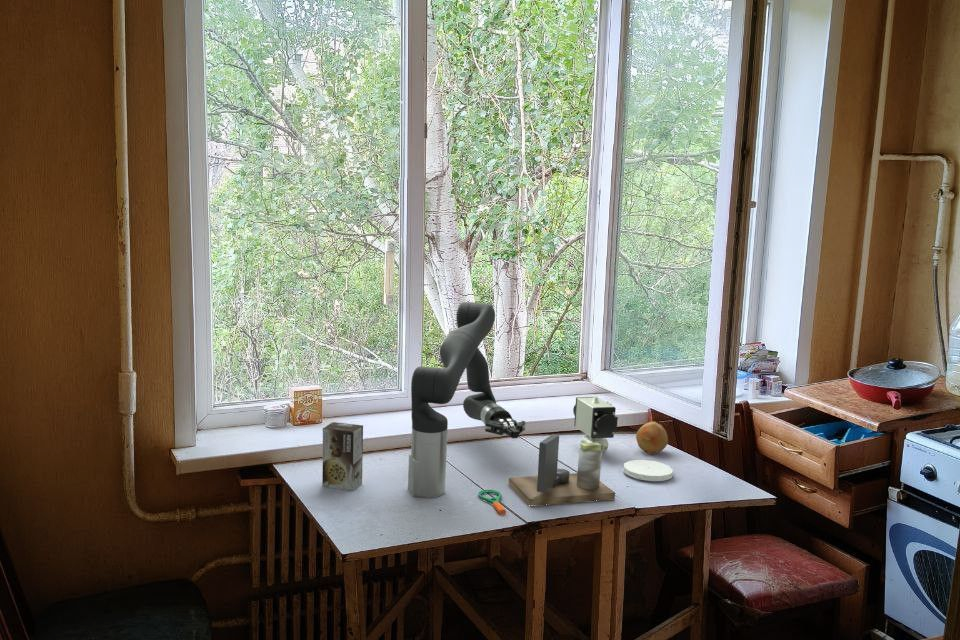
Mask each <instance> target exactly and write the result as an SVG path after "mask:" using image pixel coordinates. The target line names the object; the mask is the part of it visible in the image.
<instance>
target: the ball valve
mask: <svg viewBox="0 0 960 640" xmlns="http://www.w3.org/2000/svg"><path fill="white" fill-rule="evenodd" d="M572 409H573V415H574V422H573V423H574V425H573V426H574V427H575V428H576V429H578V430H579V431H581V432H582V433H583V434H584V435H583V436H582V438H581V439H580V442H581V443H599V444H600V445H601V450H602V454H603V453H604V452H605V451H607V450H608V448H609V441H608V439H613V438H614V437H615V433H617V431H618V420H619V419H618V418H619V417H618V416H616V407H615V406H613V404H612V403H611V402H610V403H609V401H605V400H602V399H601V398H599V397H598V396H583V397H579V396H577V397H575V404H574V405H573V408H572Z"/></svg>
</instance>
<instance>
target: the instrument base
mask: <svg viewBox="0 0 960 640" xmlns="http://www.w3.org/2000/svg"><path fill="white" fill-rule="evenodd" d="M602 454H603V453H602V450H601V445H600V444H599V443H582V442H581V443H580V447H579V448H578V461H577V473H576V472H575V473H574V472H573V473H570V476H569V482H568V483H563V484H561V483H558V484H557V485H555V486H552V487H550V488H549V489H548V490H546V491H545V492H544V493H541V492H537V479H538V475H533V476H532V475H531V476H530V475H529V476H527V475H526V476H515V477H508V483H507V484H509V485H508V486H509V488H511V489H512V490H513V491H514V492H515V493H516V494H517V495H518V496H519V497H520V499H522V501H524V503H525V504H526V505H527V506H529V505H530V506H531V505H544V506H549V505H548V504H557V505H565V504H564V503H570V504H577V503H576V502H582V503H587V502H586V501H595V502H599V501H598V500H608V501H613V500H612V499H616V492H615V491H614V490H612V489H611V488H610V487H609V486H607V485H606V484H605V483H603V482H602V481H601V467H602V465H601V464H602ZM596 500H597V501H596ZM574 502H575V503H574ZM546 504H547V505H546Z"/></svg>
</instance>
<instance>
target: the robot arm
mask: <svg viewBox="0 0 960 640" xmlns="http://www.w3.org/2000/svg"><path fill="white" fill-rule="evenodd" d="M495 319H496V313H495V308H494V307H493V305H492V304H490V303H486V302H474V301H463V302H460V304H459V305H458V307H457V310H456V326H457V328H455V329H454V330H452V331H451V332H450V333H448V335H447V336H446V337H445V339H444V340H443V342H442V344H441V346H440V348H439V357H440V360H441V362H442V364H443V366H444V368H443V367H436V366H435V367H433V366H423V365H422V366H421V365H420V366H417V367H416V368H415V369H414V370H413V373H412V377H411V385H410V386H411V387H410V389H411V390H410V392H411V393H410V395H411V447H410V451H411V452H410V453H409V454H408V472H407V473H408V474H407V477H408V478H407V490H408V491H409V493H410V494H411V497H419V498H437V497H440V496H442V495H444V494H445V492H446V475H447V474H446V473H447V450H448V425H449V423H448V418H447V416H445V415H444V414H442V413H440V412H438V411H436V410H435V409H434V408H432V406H431V405H430V404H435V405H445V404H449V403H450V402H451V400H452V399H453V397H454V395H455V393H456V391H457V388H458V385H459V383H460V382H461V379H462V377H463V374H464V373H465V370H466V384H467V388H468V390H470V392H474V393H476V394H471V395H468V396H467V397H465V398H464V399H463V403H462V407H463V411H464V412H465V414H466V415H467V416H468V417H469V418H471V419H472V420H476V421H481V422H482V423H483V425H485V426H484V431H485V432H487V433H491V434H494V435H495V434H496V435H499V436H503V435H505V436H508V437H510V438H511V439H518V437H519V436H520V434H521V433H523V432H524V431H525V430H526V421H525V420H521V421H519V422H518V421H517V420H516V419H513V417H512V415H511V414H510V412H509V411H508V410H506V409H505V408H503V407H502V406H501V405H499V404H497V400H496V398H495V395H494V394H493V390H492V388H491V383H490V371H489V364H488V361H487V360H486V357H485V356H484V354H483V353H482V352H481V351H480V349H479V347H480V345H481V343H482V342H483V340H484V339H485V338H486V337H487V335H489V333H490V332H491V330H492V329H493V327H494V324H495Z"/></svg>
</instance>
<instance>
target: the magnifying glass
mask: <svg viewBox="0 0 960 640" xmlns="http://www.w3.org/2000/svg"><path fill="white" fill-rule="evenodd" d="M484 493H495V494H497V495H498V496H497V495H496V497H486V496H483V495H485V494H484ZM477 494H478V499H479V498H480V499H479V500H481V499H482V500H481V501H483V500H485V501H487V502H489V503H491V504H493V505H492V507H493V506H494V507H493V508H494V510H497V511H496V512H497V514H498V515H500V514H504V515H506V514H505V513H507V510H506V509H505V507H504V506H503V505H502V504H501V503H500V502H501V500H502V493H501V492H500V491H498V490H495V489H482V490H480V491H478V493H477ZM482 494H483V495H482ZM495 494H494V495H495ZM481 495H482V496H481ZM485 501H484V502H485ZM487 502H486V503H487ZM489 503H488V504H489ZM491 504H490V505H491Z"/></svg>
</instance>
